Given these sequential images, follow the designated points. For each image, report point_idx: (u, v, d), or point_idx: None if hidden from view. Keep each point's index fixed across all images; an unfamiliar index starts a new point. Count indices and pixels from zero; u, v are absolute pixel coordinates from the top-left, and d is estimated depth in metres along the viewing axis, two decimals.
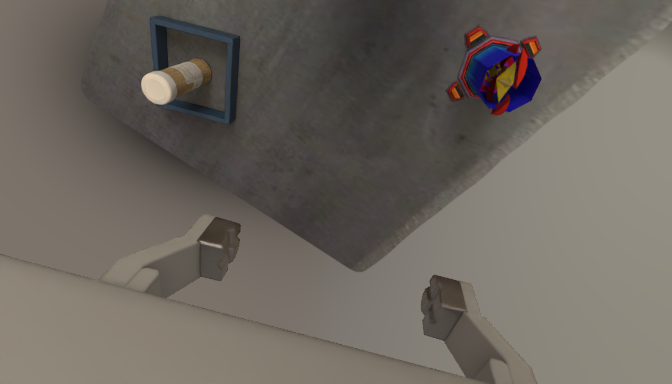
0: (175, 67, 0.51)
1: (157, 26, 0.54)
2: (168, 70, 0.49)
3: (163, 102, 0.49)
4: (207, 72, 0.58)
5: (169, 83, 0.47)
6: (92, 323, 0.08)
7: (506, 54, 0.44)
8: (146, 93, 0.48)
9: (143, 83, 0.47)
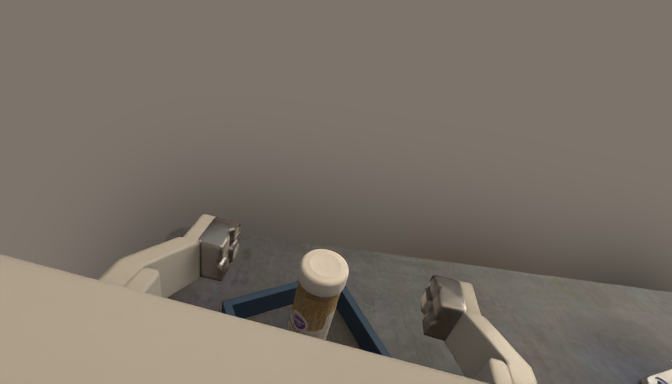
0: None
1: None
2: None
3: (314, 277, 0.29)
4: None
5: (346, 279, 0.30)
6: (92, 323, 0.08)
7: None
8: (310, 256, 0.31)
9: (321, 251, 0.32)
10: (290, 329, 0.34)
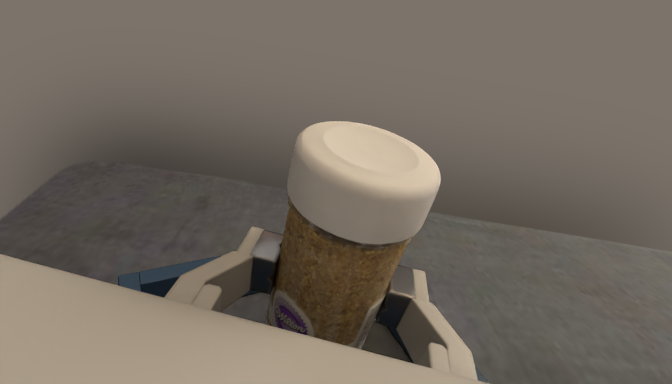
0: None
1: None
2: None
3: (341, 172, 0.08)
4: None
5: None
6: (92, 323, 0.08)
7: None
8: (323, 127, 0.10)
9: (355, 124, 0.11)
10: None
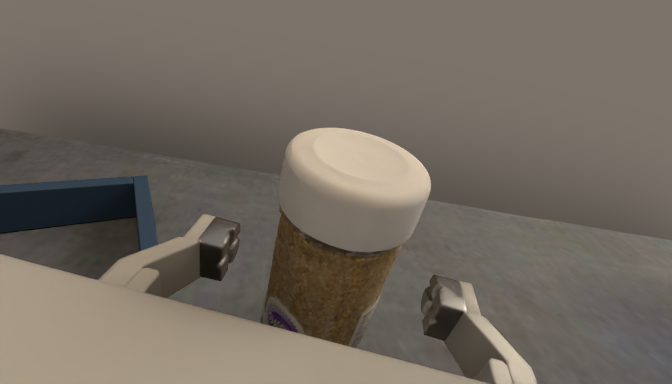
0: None
1: (128, 190, 0.23)
2: None
3: (330, 181, 0.08)
4: None
5: None
6: (92, 323, 0.08)
7: None
8: (314, 135, 0.10)
9: (346, 130, 0.11)
10: None
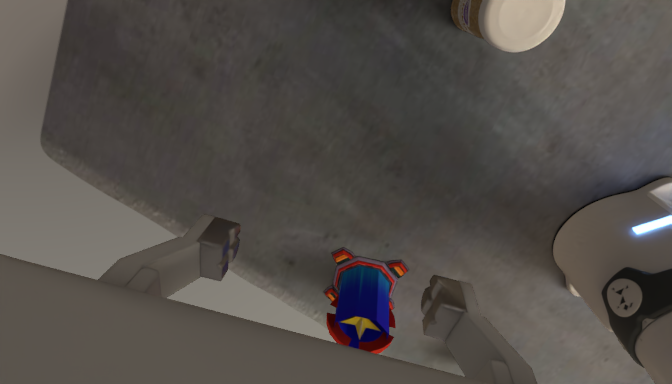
0: None
1: None
2: None
3: (490, 25, 0.20)
4: None
5: (527, 49, 0.21)
6: (92, 323, 0.08)
7: (388, 325, 0.43)
8: None
9: None
10: (462, 0, 0.27)
